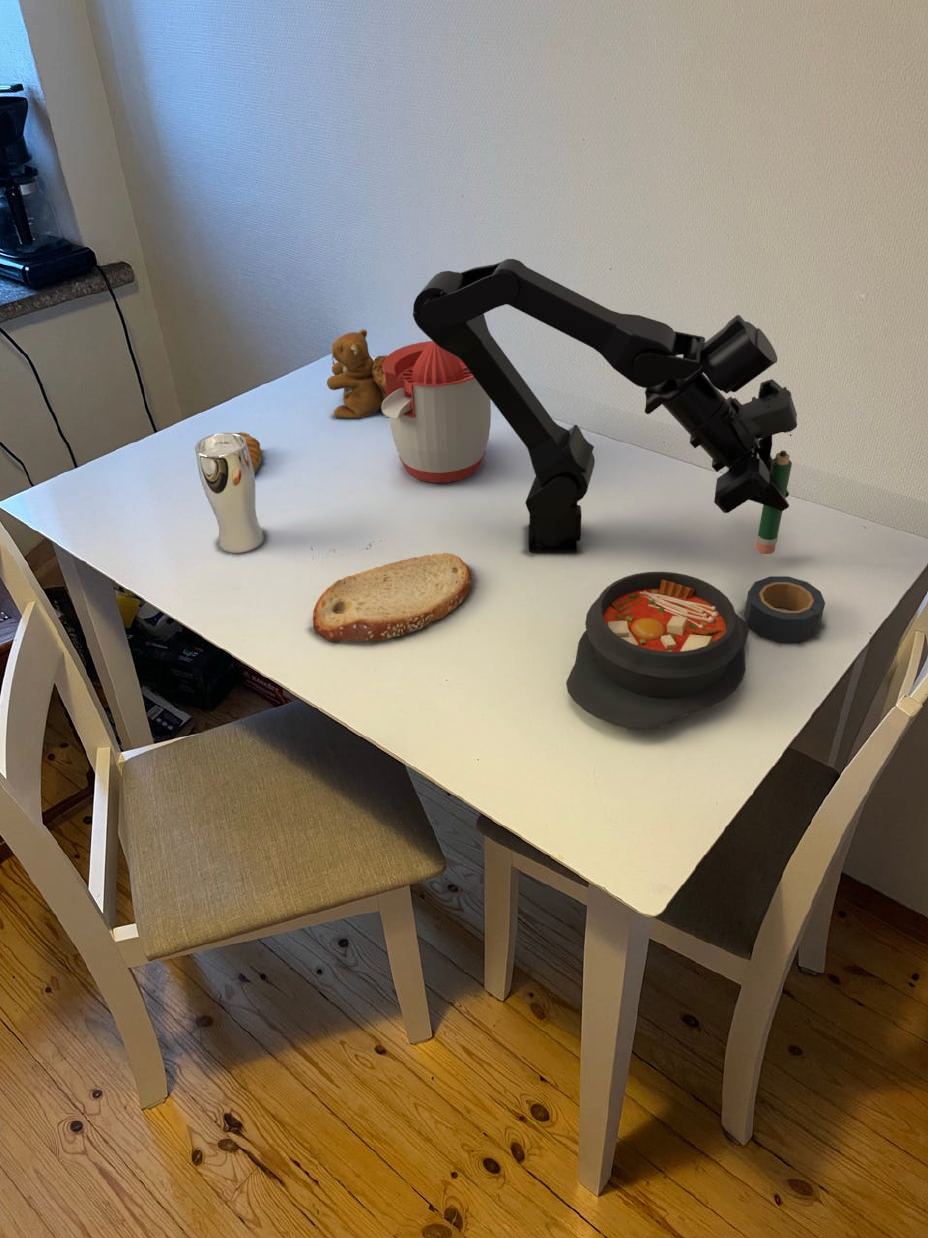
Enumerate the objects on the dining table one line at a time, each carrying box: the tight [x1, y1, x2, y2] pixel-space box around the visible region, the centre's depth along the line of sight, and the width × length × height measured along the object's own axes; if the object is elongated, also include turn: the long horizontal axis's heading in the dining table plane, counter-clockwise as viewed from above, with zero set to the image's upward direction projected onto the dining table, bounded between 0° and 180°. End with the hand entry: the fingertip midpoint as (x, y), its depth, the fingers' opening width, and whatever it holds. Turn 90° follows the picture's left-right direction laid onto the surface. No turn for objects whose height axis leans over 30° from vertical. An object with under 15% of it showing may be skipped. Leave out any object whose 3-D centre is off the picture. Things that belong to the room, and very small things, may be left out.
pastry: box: [235, 431, 263, 474], centre depth 148 cm, size 9×7×4 cm
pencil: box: [755, 450, 793, 555], centre depth 118 cm, size 2×2×14 cm
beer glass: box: [194, 432, 265, 554], centre depth 128 cm, size 7×7×15 cm
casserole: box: [565, 571, 750, 731], centre depth 106 cm, size 25×19×8 cm
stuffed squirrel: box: [326, 328, 388, 419], centre depth 160 cm, size 10×14×13 cm
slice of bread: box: [312, 552, 473, 643], centre depth 119 cm, size 18×18×4 cm
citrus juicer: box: [381, 340, 492, 485], centre depth 140 cm, size 16×17×20 cm
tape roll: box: [744, 575, 826, 644], centre depth 113 cm, size 8×8×4 cm
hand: (785, 502), depth 118 cm, fingers closed on pencil, 2 cm apart
